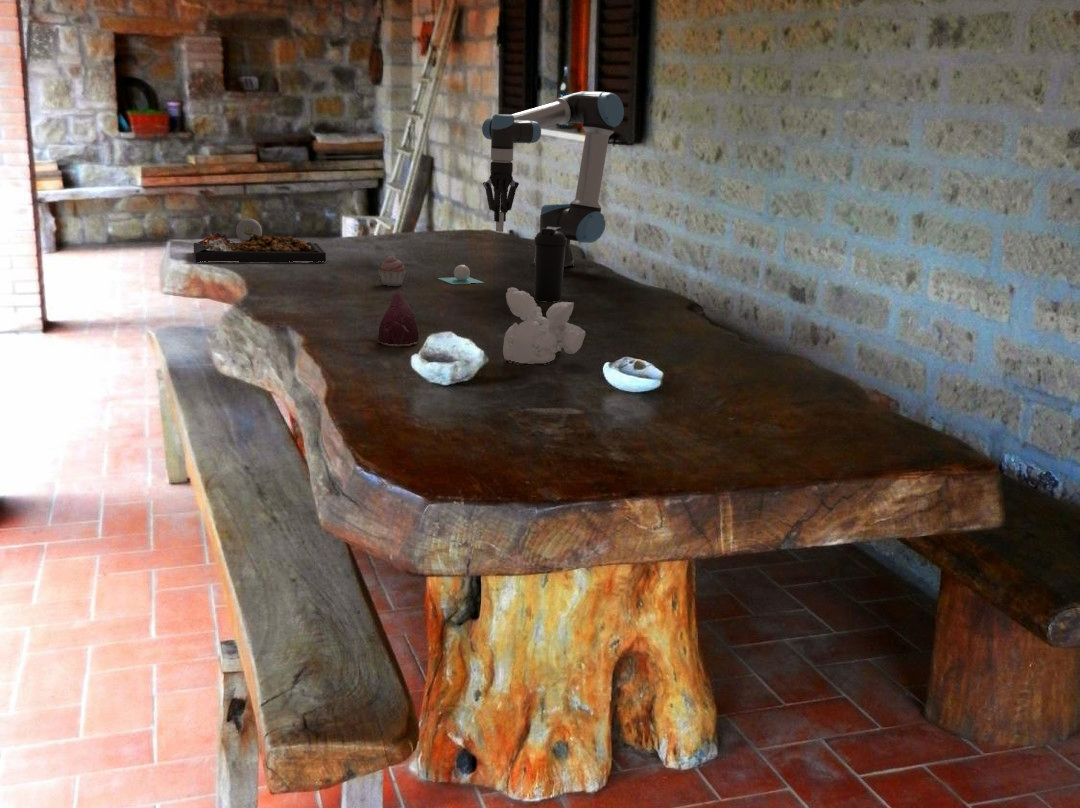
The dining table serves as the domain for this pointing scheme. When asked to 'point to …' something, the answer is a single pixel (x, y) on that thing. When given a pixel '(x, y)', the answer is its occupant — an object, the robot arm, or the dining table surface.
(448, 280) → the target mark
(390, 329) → the vegetable
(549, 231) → the water bottle
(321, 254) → the food platter
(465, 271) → the ball
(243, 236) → the donut
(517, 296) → the grey lumpy lobed block
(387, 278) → the cupcake
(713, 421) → the dining table surface
